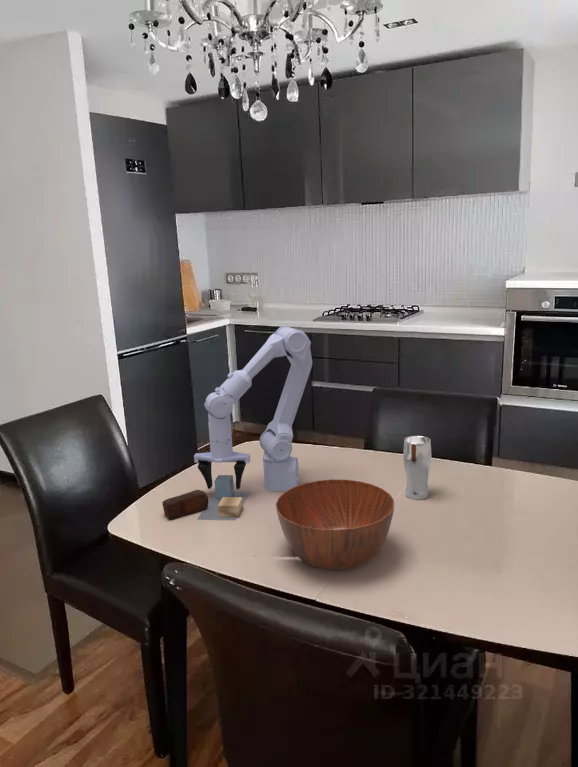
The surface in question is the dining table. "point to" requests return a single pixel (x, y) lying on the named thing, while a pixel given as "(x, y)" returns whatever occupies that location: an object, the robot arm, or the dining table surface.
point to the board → (212, 508)
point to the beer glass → (417, 466)
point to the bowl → (335, 522)
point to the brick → (185, 504)
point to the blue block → (224, 486)
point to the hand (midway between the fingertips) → (224, 487)
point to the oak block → (230, 507)
